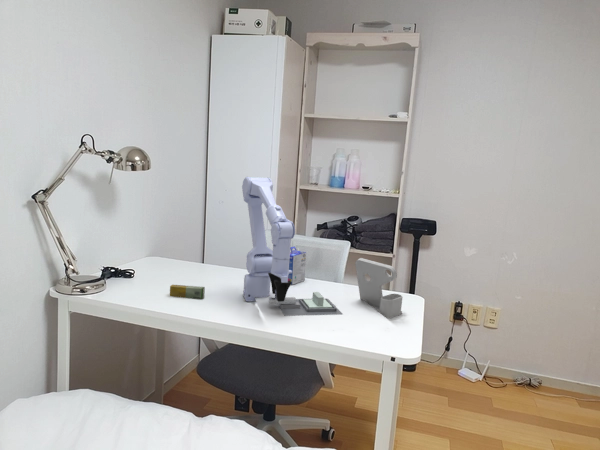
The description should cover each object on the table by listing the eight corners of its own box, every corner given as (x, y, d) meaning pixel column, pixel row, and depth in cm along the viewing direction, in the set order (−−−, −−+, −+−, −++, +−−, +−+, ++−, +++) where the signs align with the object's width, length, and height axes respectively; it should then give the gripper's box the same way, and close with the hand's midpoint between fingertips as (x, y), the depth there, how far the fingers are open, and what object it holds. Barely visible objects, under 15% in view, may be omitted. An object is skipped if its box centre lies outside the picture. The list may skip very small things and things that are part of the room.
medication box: (204, 297, 164) (205, 286, 164) (203, 299, 162) (203, 288, 161) (171, 294, 165) (171, 283, 164) (169, 296, 162) (169, 285, 162)
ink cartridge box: (294, 277, 198) (296, 244, 196) (305, 280, 195) (307, 247, 193) (281, 282, 190) (283, 247, 187) (292, 285, 187) (294, 250, 184)
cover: (309, 310, 154) (310, 298, 153) (303, 302, 161) (303, 291, 161) (332, 310, 156) (333, 298, 155) (324, 302, 164) (325, 291, 163)
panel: (284, 320, 148) (284, 312, 147) (273, 303, 163) (274, 296, 162) (342, 318, 153) (343, 310, 153) (327, 302, 168) (328, 295, 168)
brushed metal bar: (269, 304, 153) (270, 291, 152) (268, 301, 155) (269, 289, 154) (296, 303, 155) (297, 290, 155) (294, 301, 157) (295, 288, 157)
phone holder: (404, 313, 163) (409, 264, 160) (388, 319, 156) (393, 267, 153) (364, 300, 175) (369, 253, 172) (347, 305, 168) (352, 256, 165)
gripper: (298, 263, 146) (295, 304, 149) (287, 252, 160) (284, 290, 162) (276, 263, 145) (273, 304, 147) (267, 252, 158) (265, 290, 160)
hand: (278, 297), depth 154 cm, fingers open, 7 cm apart
